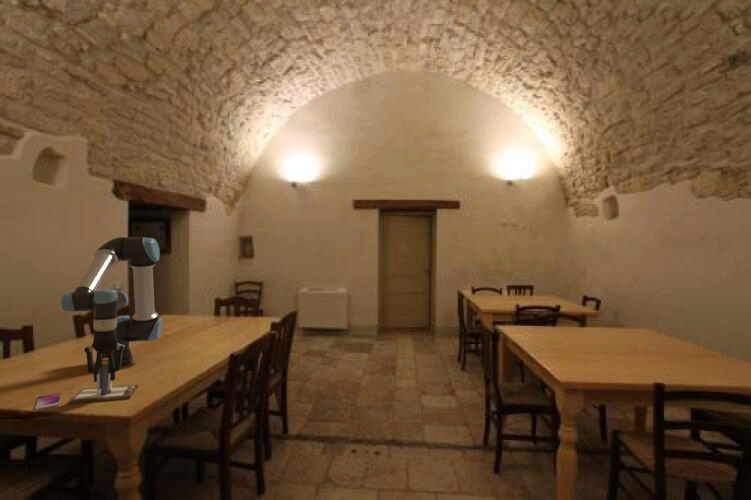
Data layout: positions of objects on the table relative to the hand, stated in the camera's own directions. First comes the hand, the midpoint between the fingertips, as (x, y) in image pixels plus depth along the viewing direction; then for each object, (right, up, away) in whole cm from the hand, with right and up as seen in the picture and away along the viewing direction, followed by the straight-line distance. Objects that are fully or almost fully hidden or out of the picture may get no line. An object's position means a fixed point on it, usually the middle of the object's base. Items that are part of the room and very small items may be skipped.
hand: (104, 389), depth 157 cm
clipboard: (-2, -3, +3) cm, 4 cm away
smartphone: (-18, -4, -5) cm, 19 cm away
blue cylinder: (0, -2, +1) cm, 2 cm away
